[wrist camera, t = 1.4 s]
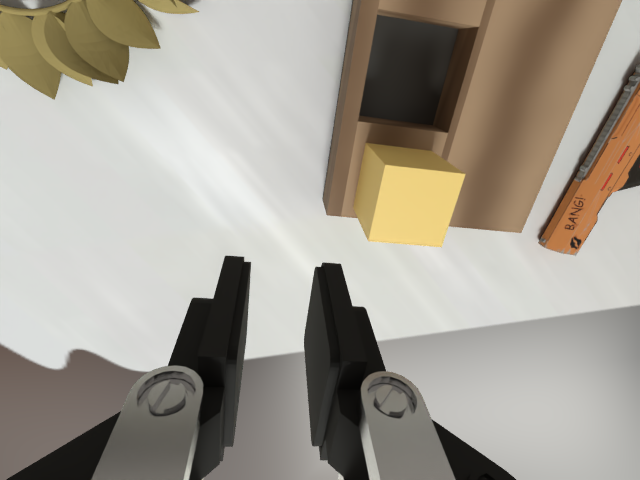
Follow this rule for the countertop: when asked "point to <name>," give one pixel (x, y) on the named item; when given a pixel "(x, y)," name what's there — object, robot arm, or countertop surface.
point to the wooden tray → (465, 94)
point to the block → (406, 195)
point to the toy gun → (600, 174)
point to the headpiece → (77, 40)
